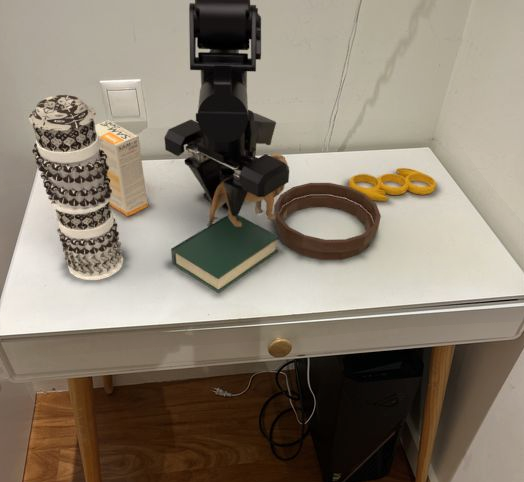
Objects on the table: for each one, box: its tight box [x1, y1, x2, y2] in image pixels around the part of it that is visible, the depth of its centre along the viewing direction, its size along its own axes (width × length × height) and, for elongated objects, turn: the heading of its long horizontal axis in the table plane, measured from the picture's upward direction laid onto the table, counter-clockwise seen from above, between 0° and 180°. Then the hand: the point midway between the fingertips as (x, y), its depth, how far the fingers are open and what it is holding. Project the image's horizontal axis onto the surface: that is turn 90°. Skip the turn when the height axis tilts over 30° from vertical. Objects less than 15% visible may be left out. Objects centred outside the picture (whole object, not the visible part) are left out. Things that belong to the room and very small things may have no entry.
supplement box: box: [95, 119, 149, 217], centre depth 95 cm, size 8×5×13 cm, turn 47°
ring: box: [273, 182, 382, 261], centre depth 95 cm, size 17×17×4 cm
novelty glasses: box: [348, 167, 437, 202], centre depth 106 cm, size 17×2×10 cm
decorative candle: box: [28, 94, 124, 281], centre depth 79 cm, size 9×9×25 cm
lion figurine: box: [206, 153, 289, 227], centre depth 84 cm, size 15×5×9 cm, turn 129°
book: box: [170, 214, 280, 294], centre depth 89 cm, size 10×14×3 cm
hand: (225, 209), depth 84 cm, fingers closed on lion figurine, 4 cm apart
